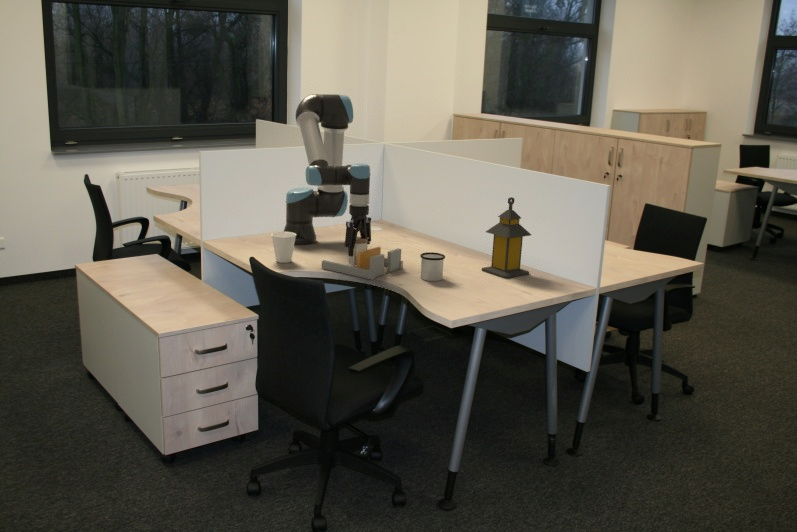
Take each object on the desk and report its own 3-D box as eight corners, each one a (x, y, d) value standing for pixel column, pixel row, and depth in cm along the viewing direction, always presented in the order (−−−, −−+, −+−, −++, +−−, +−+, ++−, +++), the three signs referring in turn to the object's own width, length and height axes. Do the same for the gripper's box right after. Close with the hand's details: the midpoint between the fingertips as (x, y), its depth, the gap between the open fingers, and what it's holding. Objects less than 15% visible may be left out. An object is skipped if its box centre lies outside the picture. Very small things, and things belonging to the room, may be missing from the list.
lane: (353, 258, 307) (353, 239, 305) (402, 268, 295) (403, 248, 293) (321, 268, 290) (321, 248, 288) (372, 279, 278) (373, 258, 276)
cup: (272, 257, 302) (272, 231, 299) (296, 258, 303) (297, 231, 300) (270, 264, 293) (270, 236, 290) (295, 264, 294) (295, 237, 291)
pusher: (377, 263, 297) (378, 246, 295) (397, 267, 292) (397, 250, 290) (357, 270, 285) (357, 253, 283) (376, 275, 280) (377, 257, 279)
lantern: (480, 270, 297) (485, 195, 289) (505, 265, 305) (511, 193, 298) (505, 279, 286) (511, 202, 278) (530, 274, 295) (537, 199, 287)
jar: (355, 260, 298) (356, 235, 295) (370, 263, 294) (371, 238, 292) (344, 263, 292) (345, 238, 289) (359, 266, 288) (360, 241, 286)
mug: (436, 283, 276) (437, 259, 274) (414, 278, 281) (415, 255, 279) (451, 276, 286) (452, 253, 284) (430, 272, 291) (431, 249, 289)
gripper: (366, 200, 297) (364, 255, 303) (335, 206, 281) (334, 265, 287) (381, 202, 293) (379, 259, 299) (351, 209, 277) (350, 268, 283)
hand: (357, 262), depth 293 cm, fingers closed on jar, 7 cm apart
